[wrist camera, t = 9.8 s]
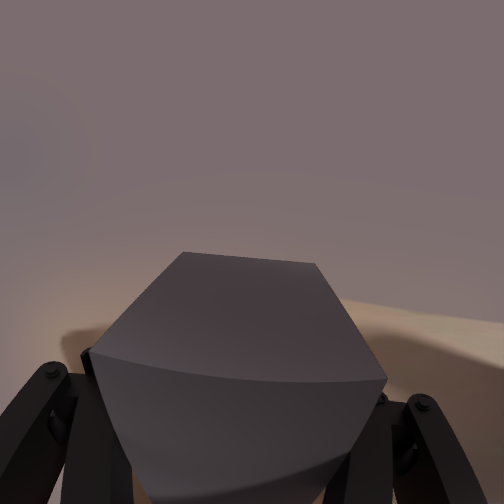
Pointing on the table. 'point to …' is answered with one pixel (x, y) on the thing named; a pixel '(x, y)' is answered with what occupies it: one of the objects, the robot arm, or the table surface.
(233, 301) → the block
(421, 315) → the table surface
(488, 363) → the table surface
